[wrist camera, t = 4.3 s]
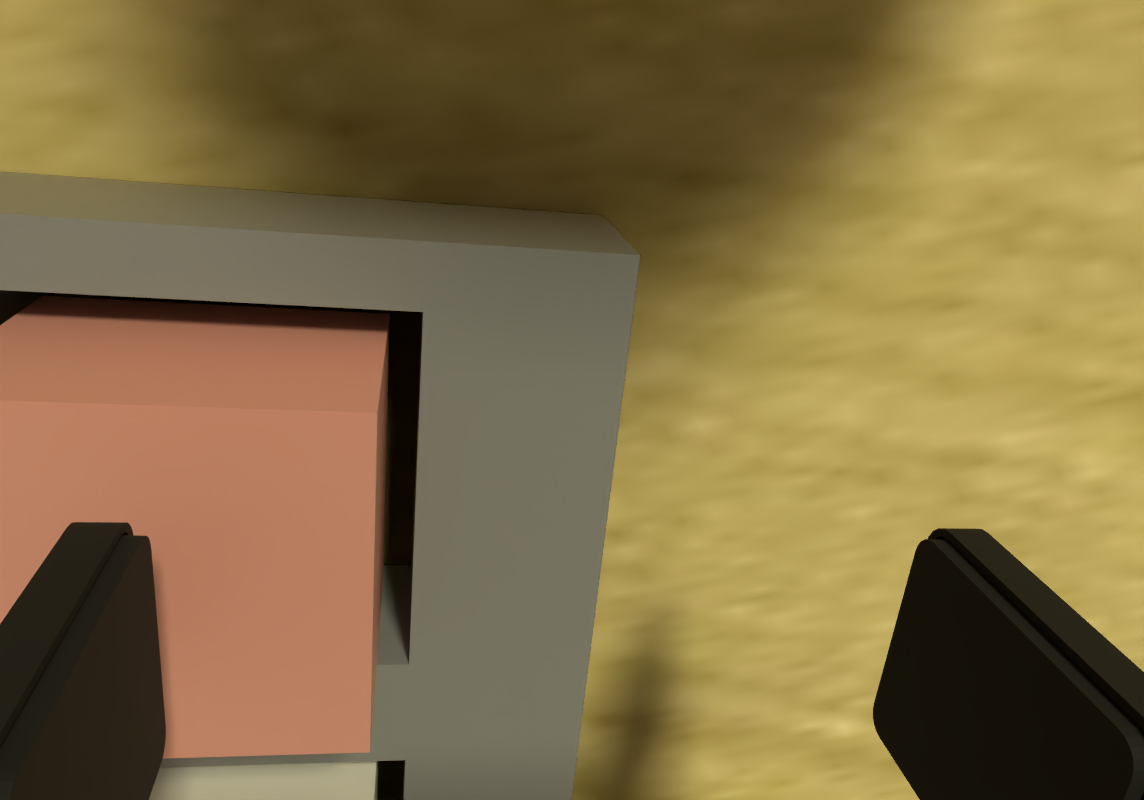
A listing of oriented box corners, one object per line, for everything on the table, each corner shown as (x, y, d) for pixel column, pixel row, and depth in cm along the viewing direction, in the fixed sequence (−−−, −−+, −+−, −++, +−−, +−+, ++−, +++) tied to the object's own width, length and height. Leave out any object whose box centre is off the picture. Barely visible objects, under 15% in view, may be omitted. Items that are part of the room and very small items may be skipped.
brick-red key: (389, 313, 14) (377, 412, 11) (382, 586, 16) (369, 752, 12) (41, 296, 13) (-103, 397, 10) (76, 586, 15) (-36, 764, 12)
